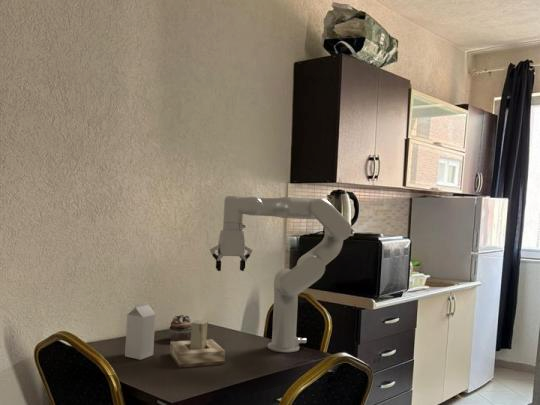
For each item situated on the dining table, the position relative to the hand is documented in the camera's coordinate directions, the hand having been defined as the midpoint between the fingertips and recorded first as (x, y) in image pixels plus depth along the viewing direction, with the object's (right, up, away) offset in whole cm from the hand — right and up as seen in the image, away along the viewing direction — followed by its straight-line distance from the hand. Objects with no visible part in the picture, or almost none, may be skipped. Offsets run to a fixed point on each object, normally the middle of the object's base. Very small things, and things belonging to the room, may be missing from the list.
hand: (230, 270), depth 191 cm
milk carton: (-32, -29, -17) cm, 46 cm away
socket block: (-11, -29, -17) cm, 36 cm away
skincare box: (-10, -29, -17) cm, 35 cm away
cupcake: (-21, -30, +7) cm, 37 cm away
